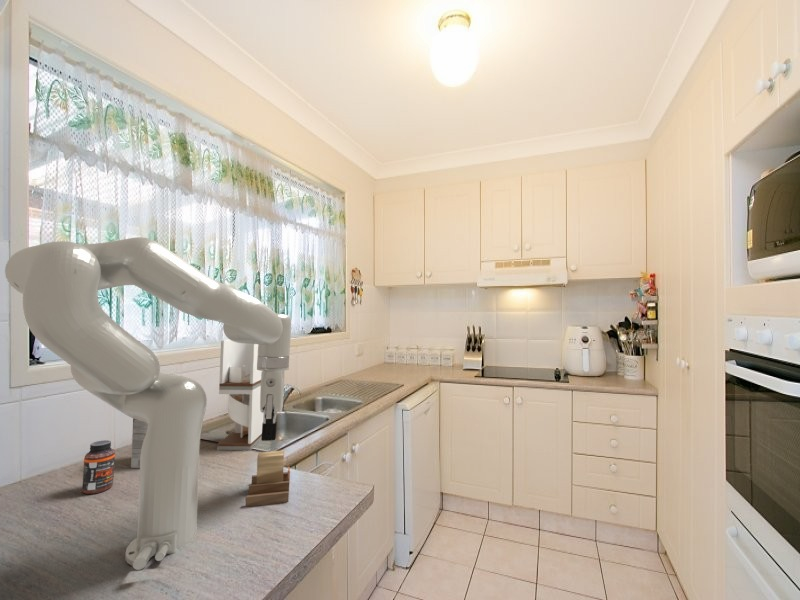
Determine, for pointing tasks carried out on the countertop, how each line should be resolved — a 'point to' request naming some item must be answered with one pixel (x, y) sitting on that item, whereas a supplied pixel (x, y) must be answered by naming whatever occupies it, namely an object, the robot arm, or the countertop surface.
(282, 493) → the rack
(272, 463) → the block
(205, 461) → the countertop surface
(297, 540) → the countertop surface
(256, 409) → the display case
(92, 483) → the supplement bottle
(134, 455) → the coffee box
